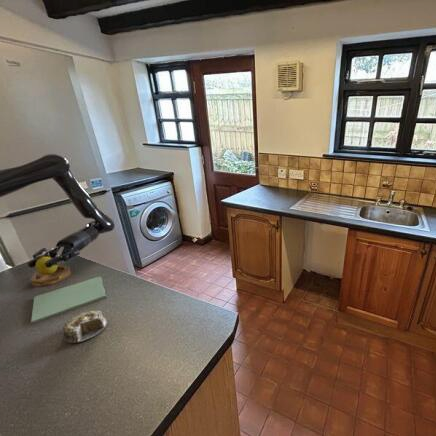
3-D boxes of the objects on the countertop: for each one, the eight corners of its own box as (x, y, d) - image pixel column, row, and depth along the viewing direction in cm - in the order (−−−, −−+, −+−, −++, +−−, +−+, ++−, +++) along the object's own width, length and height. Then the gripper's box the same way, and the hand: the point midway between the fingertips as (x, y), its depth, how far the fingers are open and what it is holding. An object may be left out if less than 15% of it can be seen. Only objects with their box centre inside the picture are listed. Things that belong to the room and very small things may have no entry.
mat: (32, 323, 72) (31, 321, 71) (35, 298, 81) (34, 296, 81) (106, 297, 83) (105, 295, 83) (101, 277, 92) (100, 276, 92)
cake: (56, 339, 68) (48, 324, 66) (94, 314, 76) (88, 300, 75) (78, 349, 64) (70, 333, 62) (115, 322, 73) (110, 307, 71)
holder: (30, 290, 85) (28, 286, 84) (32, 276, 92) (30, 271, 92) (71, 278, 92) (69, 274, 91) (70, 265, 99) (68, 261, 98)
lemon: (46, 280, 88) (37, 262, 85) (37, 277, 90) (28, 259, 87) (63, 272, 93) (56, 254, 90) (54, 269, 95) (47, 251, 92)
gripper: (54, 234, 101) (12, 256, 85) (90, 234, 101) (55, 256, 86) (60, 250, 104) (21, 274, 88) (95, 250, 104) (62, 274, 89)
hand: (38, 265), depth 87 cm, fingers closed on lemon, 5 cm apart
